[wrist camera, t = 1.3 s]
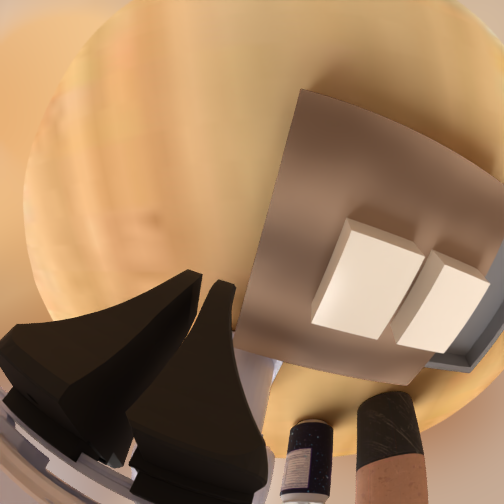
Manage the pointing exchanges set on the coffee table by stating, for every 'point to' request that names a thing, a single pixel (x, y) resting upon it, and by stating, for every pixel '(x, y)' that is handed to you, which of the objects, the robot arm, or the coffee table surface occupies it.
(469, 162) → the brown wooden block
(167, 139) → the coffee table surface
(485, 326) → the box
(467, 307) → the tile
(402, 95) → the coffee table surface
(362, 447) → the travel mug
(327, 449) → the beverage can
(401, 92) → the coffee table surface
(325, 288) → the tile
